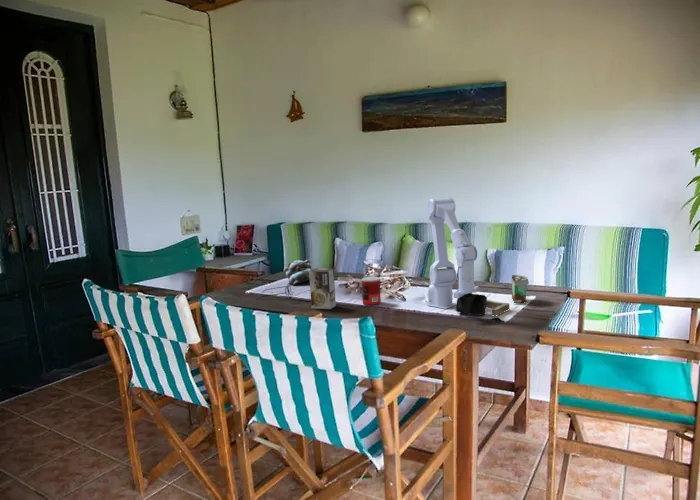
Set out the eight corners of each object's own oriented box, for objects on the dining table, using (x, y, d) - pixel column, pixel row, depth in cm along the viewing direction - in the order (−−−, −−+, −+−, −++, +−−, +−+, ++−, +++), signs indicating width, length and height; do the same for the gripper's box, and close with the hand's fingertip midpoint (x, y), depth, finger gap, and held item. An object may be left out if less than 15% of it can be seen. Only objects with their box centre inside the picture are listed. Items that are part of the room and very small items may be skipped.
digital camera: (454, 309, 202) (456, 291, 204) (458, 312, 206) (460, 295, 208) (481, 312, 197) (483, 294, 199) (484, 315, 201) (487, 297, 203)
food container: (530, 305, 213) (530, 281, 211) (514, 305, 214) (514, 281, 212) (526, 297, 224) (526, 274, 223) (511, 297, 226) (511, 274, 224)
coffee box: (336, 305, 225) (334, 268, 222) (330, 309, 219) (329, 271, 216) (316, 304, 228) (314, 267, 225) (310, 308, 222) (308, 270, 219)
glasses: (287, 299, 241) (285, 289, 240) (255, 304, 241) (253, 294, 240) (291, 292, 255) (289, 282, 254) (261, 296, 255) (259, 286, 255)
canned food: (383, 301, 228) (382, 276, 226) (376, 306, 220) (375, 280, 219) (367, 300, 231) (366, 276, 229) (359, 305, 224) (358, 279, 222)
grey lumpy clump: (286, 286, 265) (279, 261, 269) (291, 290, 276) (284, 266, 280) (314, 276, 264) (307, 251, 268) (318, 281, 276) (311, 256, 280)
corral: (456, 309, 210) (456, 303, 210) (471, 303, 218) (471, 297, 218) (495, 316, 199) (495, 309, 198) (509, 310, 207) (509, 303, 206)
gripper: (465, 282, 190) (465, 319, 192) (485, 275, 200) (485, 310, 202) (448, 280, 195) (449, 316, 197) (469, 273, 205) (469, 307, 207)
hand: (466, 313), depth 200 cm, fingers closed
